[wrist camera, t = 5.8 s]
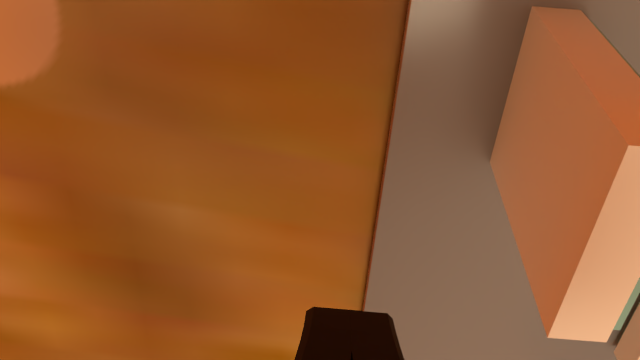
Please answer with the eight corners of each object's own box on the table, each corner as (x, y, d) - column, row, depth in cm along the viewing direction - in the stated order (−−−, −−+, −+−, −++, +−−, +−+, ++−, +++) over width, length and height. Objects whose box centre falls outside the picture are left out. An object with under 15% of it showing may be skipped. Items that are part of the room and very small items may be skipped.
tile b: (540, 165, 19) (620, 343, 13) (489, 162, 19) (547, 337, 13) (592, 10, 16) (721, 152, 10) (531, 6, 16) (628, 145, 10)
